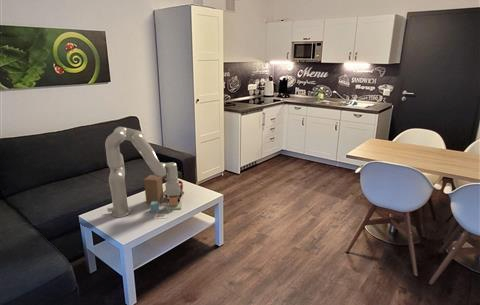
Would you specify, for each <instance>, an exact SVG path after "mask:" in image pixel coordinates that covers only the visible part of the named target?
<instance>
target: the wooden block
mask: <svg viewBox="0 0 480 305" xmlns="http://www.w3.org/2000/svg"><path fill="white" fill-rule="evenodd" d="M143 183H144V185H143V186H144V194H145V201H146V204H147V205H150V204H151V202H156V201H159V205H160V204H161V203H162V202H163V201H164V199H165V196H164V195H163V192H164V187H163V186H164V185H163V177H157V176H156V175H155V174H149V175H148V176H147V177H146V178H144V180H143Z"/></svg>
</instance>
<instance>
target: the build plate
mask: <svg viewBox="0 0 480 305" xmlns="http://www.w3.org/2000/svg"><path fill="white" fill-rule="evenodd" d="M182 204H183V202H182V201H180V202H179V203H178V205H173V206H169V202H168V201H167V205H166V210H167V211H171V210H172V211H173V210H174V211H175V210H182Z"/></svg>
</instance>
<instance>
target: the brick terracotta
mask: <svg viewBox="0 0 480 305" xmlns="http://www.w3.org/2000/svg"><path fill="white" fill-rule="evenodd" d="M173 205H178V196H169V206H173Z"/></svg>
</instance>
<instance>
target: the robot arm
mask: <svg viewBox="0 0 480 305" xmlns="http://www.w3.org/2000/svg"><path fill="white" fill-rule="evenodd" d="M124 141H130V142H131V144H132V145H133V146H134V148H135V149H136V150H137V152H139V154H140V155H141V157H142V158H143V160H144V161H145V163H146V164H147V166H148V167H149V168H150V170H151V171H152V173H153V175H156V176H157V177H162V178H164V177H165V176H166V178H164V181H166V182H165V184H166V187H165V190H163V196H164V198H166V199H167V203H168V202H169V196H178V203H179V202H181V198H182V196H183V195H184V194H185V191H184V190H181V189H180V185H181V184H179V181H178V180H179V179H178V176H179V175H178V166H177V163H176V162H174V161H173V162H160V160H159V159H158V157H157V155H156V151H155V149H153V147H152V146H151V145H150V143H149V142H148V140H147V139H146V138H145V135H144V133H143V131H141V130H138V129H133V128H129V127H124V126H118V127H116V128H114V130H113V132H112V133H110V134H109V135H108V136H107V137H106V139H105V142H104V146H105V153H106V154H105V155H106V164H107V166H108V167H109V170H110V173H109V176H108V184H109V188H110V194H111V201H112V207H107V208H106V209H107V212H108V213H110V212H111V216H112V217H115V218H124V217H126V216H128V215H130V214H131V212H132V210H131V209H130V208H129V206H128V203H129V202H128V197H127V195H128V194H127V189H126V181H125V176H126V168H125V162H124V160H125V159H124V156H123V154H122V153H121V149H120V144H122V143H123V142H124ZM180 192H181V194H180Z"/></svg>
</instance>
